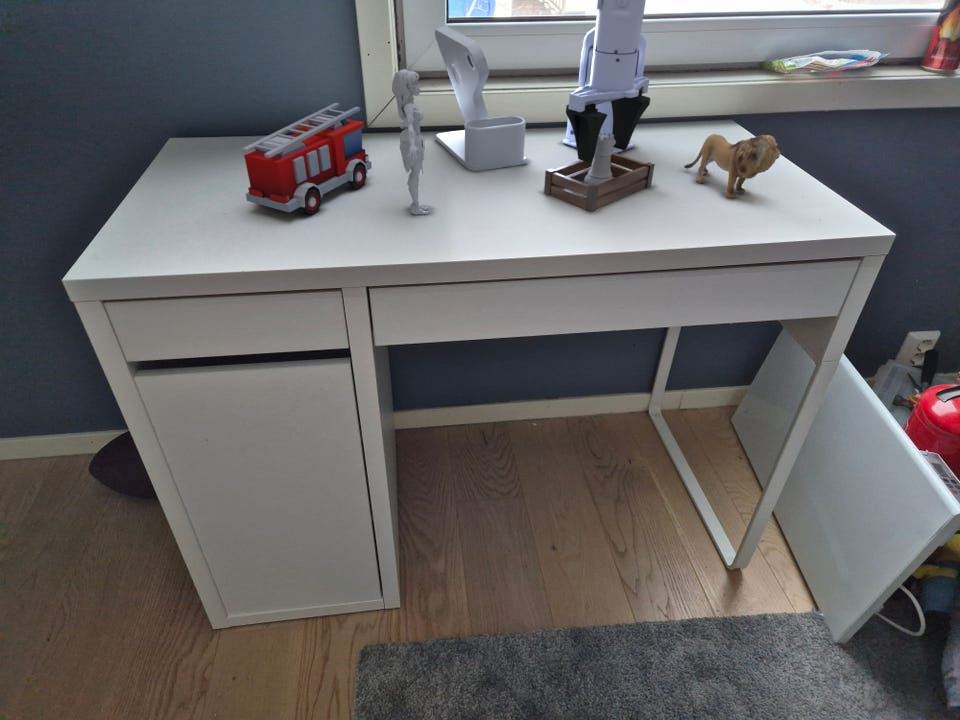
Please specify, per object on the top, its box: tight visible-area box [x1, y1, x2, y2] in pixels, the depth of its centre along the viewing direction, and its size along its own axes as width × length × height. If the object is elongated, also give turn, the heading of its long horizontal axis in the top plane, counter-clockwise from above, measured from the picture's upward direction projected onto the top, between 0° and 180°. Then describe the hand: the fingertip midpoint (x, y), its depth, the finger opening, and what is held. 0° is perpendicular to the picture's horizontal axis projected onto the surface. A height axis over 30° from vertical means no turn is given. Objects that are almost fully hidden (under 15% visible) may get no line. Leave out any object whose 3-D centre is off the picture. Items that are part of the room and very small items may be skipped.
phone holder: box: [434, 25, 527, 172], centre depth 103 cm, size 17×10×18 cm, turn 23°
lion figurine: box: [683, 133, 782, 199], centre depth 94 cm, size 15×5×9 cm, turn 33°
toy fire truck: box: [241, 102, 373, 216], centre depth 90 cm, size 9×19×10 cm, turn 152°
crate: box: [543, 150, 656, 213], centre depth 94 cm, size 9×14×3 cm, turn 132°
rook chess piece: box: [583, 132, 616, 185], centre depth 93 cm, size 4×4×8 cm
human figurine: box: [391, 68, 429, 215], centre depth 83 cm, size 12×4×18 cm, turn 10°
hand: (602, 154), depth 92 cm, fingers open, 7 cm apart
